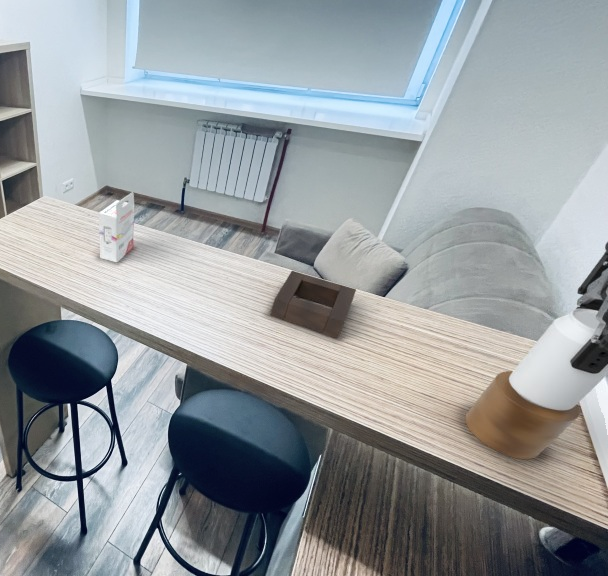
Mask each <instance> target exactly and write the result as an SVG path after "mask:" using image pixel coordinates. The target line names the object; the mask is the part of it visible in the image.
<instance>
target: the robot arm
mask: <svg viewBox="0 0 608 576" xmlns="http://www.w3.org/2000/svg"><path fill="white" fill-rule="evenodd" d="M604 250H605V252H603V253H604V254H603V255H602V256H601V257H600V259H599V260H598V262H597V263H596V264H595V265H594V267H593V268H592V270H591V271H590V273H589V274H588V275H587V277H586V278H585V279H584V280H583V282H582V283H581V285H580V286H579V287H578V288H577V292H576V293H577V294H578V295H581V296H580V297H579V298H577V302H576V305H577V307H576V308H575V309H591V310H596V311H598V313H597V315H596V319H597V320H598V321H599V322H600V323H599V325H598V327H597V329H596V331H595V332H594V334H593V336H592V337H591V339H589V341H588V342H587V343H586V344H585V345H584V346H583V347H582V348H581V349H580V350H579V351H578V353H577V354H576V355H575V356H574V357H573V358H572V359H571V360H570V363H571V366H572V367H573V368H575V369H578V370H581V371H585V372H588V373H591V374H597V373H599V372H601V371H602V370H603V369H604V367H605V366H606V365H607V364H608V241H607V242H606V243H605V246H604Z"/></svg>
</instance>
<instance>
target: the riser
mask: <svg viewBox="0 0 608 576" xmlns="http://www.w3.org/2000/svg"><path fill="white" fill-rule="evenodd" d="M513 371H514V370H506V371H502V372H499V373H497V375H496V376H495V377H494V379H493V380H492V381H491V382H490V383H489V385H487V387H486V389H485V390H484V391H483V393H482V394H481V395H480V396H479V397H478V399H477V400H476V401H475V402H474V404H473V405H472V406H471V408H469V410H468V411H467V412H466V414H465V417H464V420H465V421H464V422H465V424H466V426H467V428H468V430H469V431H470V432H471V433H472V434H473V436H474V437H475V438H477V439H478V440H479V441H480V442H481V443H483V444H484V445H486V446H487V447H489V448H490V449H492V450H494V451H496V452H498V453H500V454H502V455H505V456H508V457H511V458H514V459H520V460H532V459H535V458H537V457H538V456H539V455H541V453H542V452H544V451H545V450H546V448H548V447H549V446H550V445H551V444H552V443H553V442H554V441H555V440H557V438H558V437H559V436H560V435H561V434H563V432H564V431H565V430H567V428H569V426H571V425H572V424H573V423H574V422H575V421H576V420H577V419H578V418H579V417H580V415H581V409H580V407H579V404H577V405H575V406H574V407H573V408H571V409H569V410H554V409H549V408H544V407H540V406H538V405H535V404H533V403H531V402H529V401H527V400H526V399H524V398H523V397H521V396H520V395H519V394H518V393H517V392H516V391H515V390H514V388H513V387H512V386H511V384H510V382H509V377H510V375H511V373H512V372H513Z"/></svg>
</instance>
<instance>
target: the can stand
mask: <svg viewBox="0 0 608 576" xmlns="http://www.w3.org/2000/svg"><path fill="white" fill-rule="evenodd" d="M356 291H357V289H356V288H353V287H350V286H347V285H342V284H339V283H336V282H333V281H329V280H326V279H322V278H319V277H317V276H312V275H309V274H305V273H301V272H299V271H295V270H291V271H290V274H289V275H288V276H287V278H286V279H285V281H284V283H283V284H282V286H281V288H280V289H279V291H278V293H277V295H275V298H274V301H273V304H272V307H271V311H270V314H269V315H270V316H271V317H274V318H277V319H279V320H284V321H286V322H287V323H292V324H294V325H297V326H300V327H303V328H305V329H309V330H312V331H314V332H317V333H320V334H322V335H326V336H328V337H330V338H334V339H339V337H340V334H341V332H342V330H343V328H344V325H345V323H346V321H347V317H348V315H349V311H350V308H351V306H352V302H353V300H354V297H355V295H356ZM297 297H299V298H297ZM301 298H302V299H301ZM307 300H308V301H307ZM310 301H311V302H310ZM319 304H320V305H319ZM322 305H323V306H322ZM326 306H327V307H326ZM328 307H330V308H328Z"/></svg>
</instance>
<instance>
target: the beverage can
mask: <svg viewBox="0 0 608 576" xmlns="http://www.w3.org/2000/svg"><path fill="white" fill-rule="evenodd" d="M597 313H598V311H596V310H591V309H576V308H574V309H573V310H571V312H570V313H567V314H564V315H561V316H560V317H556V318H555V319H554V320H553V322H551V324H550V325H549V326H548V327H547V329H546V330H544V332H543V333H542V335H541V336H540V337H539V339H537V341H536V342H535V343H534V344H533V346H532V347H531V349H530V350H529V351H528V352H527V354H525V356H523V358H522V359H521V361H520V362H519V363H518V364H517V366H516V367H515V368H514V369H513V370H512V371H513V372H512V373H511V375H510V377H509V382H510V384H511V386H512V387H513V388H514V390H515V391H516V392H517V393H518V394H519V395H520V396H521V397H523V398H524V399H526V400H527V401H529V402H531V403H533V404H535V405H538V406H540V407H544V408H549V409H554V410H569V409H571V408H573V407H574V406H575V405H579V404H578V403H580V402H581V401H582V400H583V399H584V398H585V397H586V396H587V395H589V394H590V392H592V390H593V389H594V388H595V387H596V386H597V385H598V384H599V383H601V381H602V380H603V379H605V377H607V375H608V364H607V365H606V366H605V367H604V369H603V370H602V371H601V372H599V373H597V374H591V373H588V372H585V371H581V370H578V369H575V368H573V367H572V366H571V363H570V360H571V359H572V358H573V357H574V356H575V355H576V354H577V353H578V351H579V350H580V349H581V348H582V347H583V346H584V345H585V344H586V343H587V342H588V341H589V339H591V337H592V336H593V334H594V332H595V331H596V329H597V327H598V325H599V323H600V322H599V321H598V320H597V319H596V315H597Z"/></svg>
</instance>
